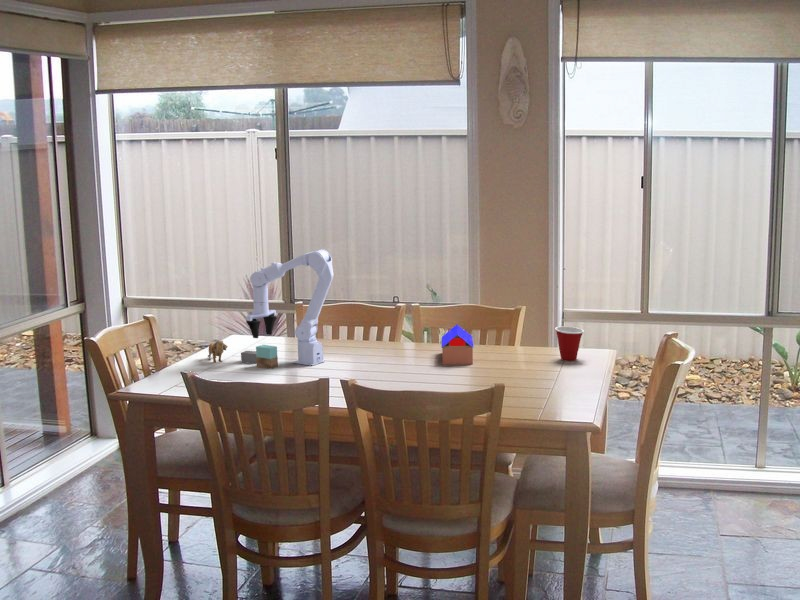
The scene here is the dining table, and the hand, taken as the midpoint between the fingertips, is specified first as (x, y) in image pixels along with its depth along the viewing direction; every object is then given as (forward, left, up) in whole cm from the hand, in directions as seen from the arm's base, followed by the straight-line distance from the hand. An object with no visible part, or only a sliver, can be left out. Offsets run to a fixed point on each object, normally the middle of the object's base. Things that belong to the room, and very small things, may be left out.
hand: (262, 336), depth 347 cm
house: (-64, -41, -10) cm, 76 cm away
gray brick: (+3, +3, -10) cm, 11 cm away
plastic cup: (-102, -60, -10) cm, 118 cm away
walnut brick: (-8, +6, -10) cm, 14 cm away
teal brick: (-8, +6, -6) cm, 11 cm away
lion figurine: (+17, +9, -10) cm, 22 cm away
